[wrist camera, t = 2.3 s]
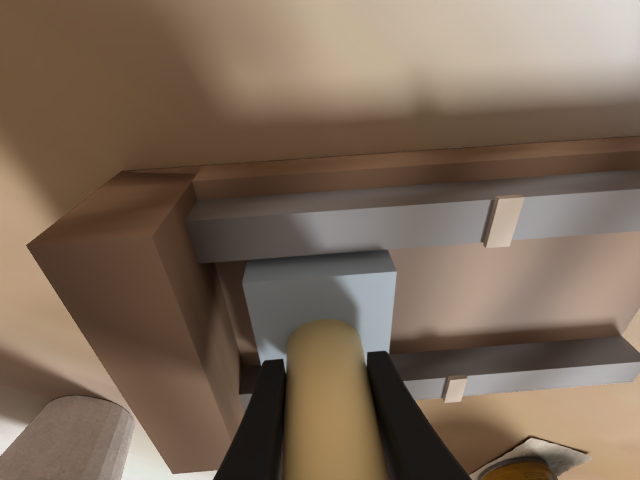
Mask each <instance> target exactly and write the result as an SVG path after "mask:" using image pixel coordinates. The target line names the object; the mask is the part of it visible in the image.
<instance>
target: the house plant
mask: <svg viewBox="0 0 640 480" xmlns="http://www.w3.org/2000/svg"><path fill="white" fill-rule="evenodd" d="M133 429H134V420H133V418H132V416H131V415H130V414H129V413H128V412H127V411H126V410H125V409H124V408H122V407H120V406H118V405H117V404H115V403H112V402H109V401H105V400H102V399H97V398H92V397H86V396H78V395H77V396H65V397H61V398H58V399H55V400H53V401H51V402H49V403H48V404H47V405H46V406H45V407H44V409H43V410H42V411H41V412H40V413H39V414H38V415H37V416H36V417H35V418H34V420H33V421H32V422H31V423H30V424H29V425H28V426H27V427H26V428H25V430H24V431H23V432H22V433H21V434H20V435H19V436H18V437H17V438H16V440H15V441H14V442H13V443H12V444H11V445H10V446H9V447H8V448H7V449H6V451H5V452H4V453H3V454H2V455H1V456H0V480H121V477H122V473H123V469H124V465H125V461H126V457H127V453H128V449H129V445H130V441H131V437H132V433H133Z"/></svg>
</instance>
